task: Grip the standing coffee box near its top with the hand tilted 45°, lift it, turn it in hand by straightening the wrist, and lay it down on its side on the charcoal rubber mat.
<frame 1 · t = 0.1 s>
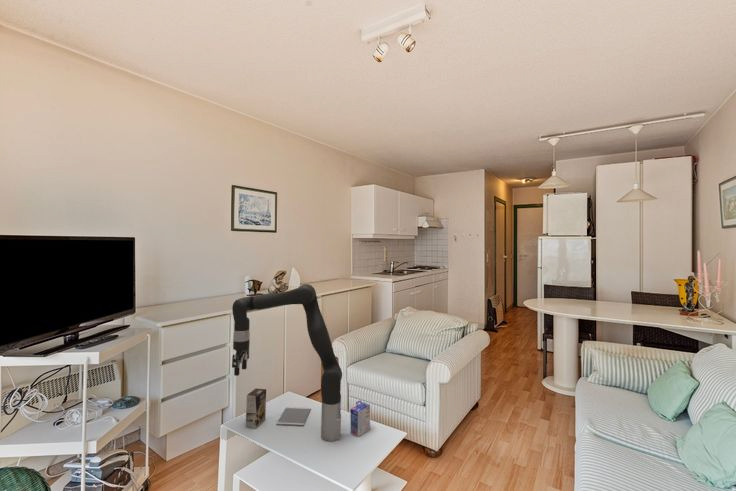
hand: (240, 372, 164), 29 cm above the table, tool pointing down, fingers open, 8 cm apart
coffee box: (255, 423, 172), on the table
ink cartridge box: (360, 431, 167), on the table
mat: (294, 417, 180), on the table
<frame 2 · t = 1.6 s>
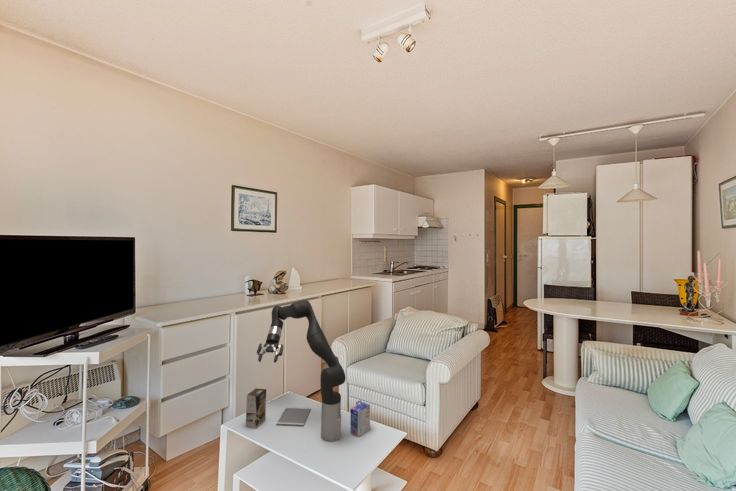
hand: (267, 361, 188), 27 cm above the table, tool tilted 45°, fingers open, 8 cm apart
nothing on the table moved.
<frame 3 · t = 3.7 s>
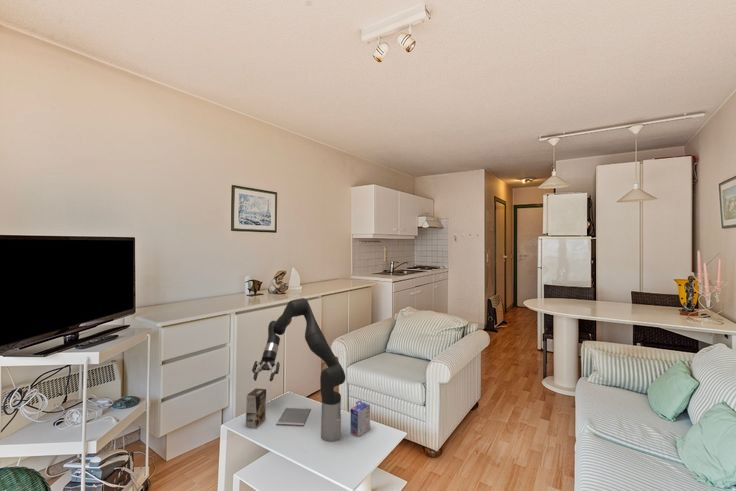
hand: (262, 380, 181), 19 cm above the table, tool tilted 45°, fingers open, 8 cm apart
nothing on the table moved.
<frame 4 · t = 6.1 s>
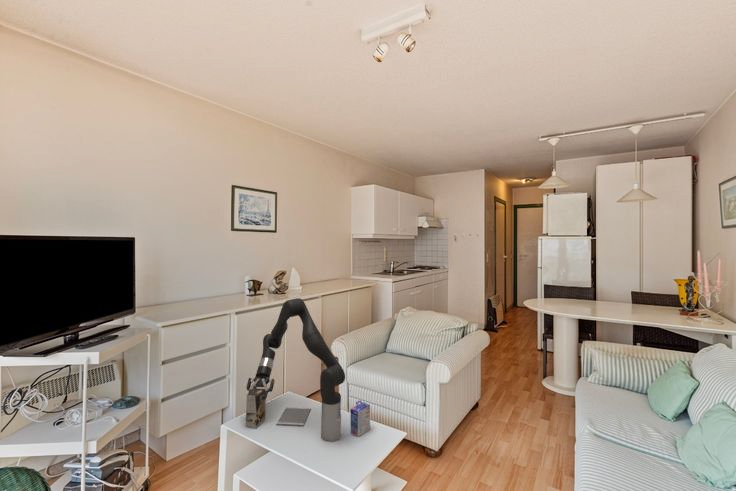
hand: (256, 398, 173), 12 cm above the table, tool tilted 45°, fingers closed on coffee box, 7 cm apart
coffee box: (255, 423, 172), on the table, touching gripper
everything else where it was.
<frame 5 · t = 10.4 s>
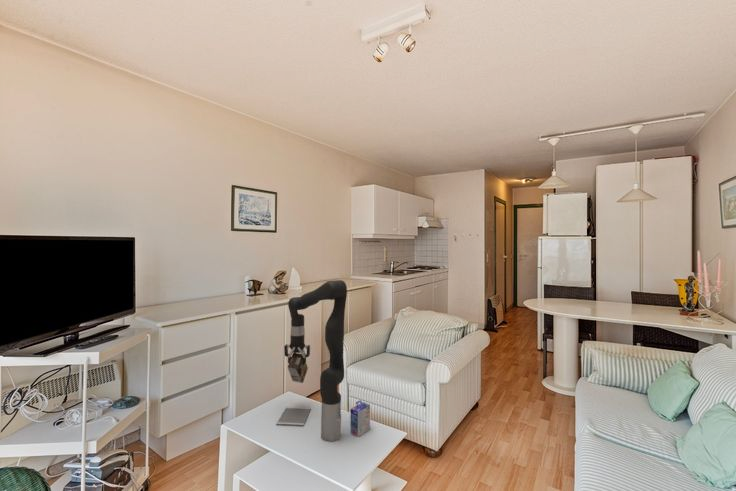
hand: (297, 364, 183), 27 cm above the table, tool pointing down, fingers closed on coffee box, 7 cm apart
coffee box: (300, 374, 191), point 18 cm above the table, touching gripper
everything else where it was.
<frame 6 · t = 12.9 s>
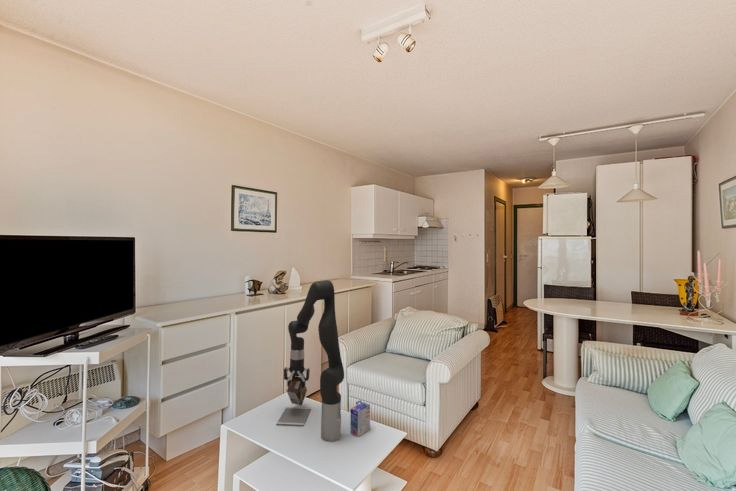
hand: (296, 387, 182), 15 cm above the table, tool pointing down, fingers closed on coffee box, 7 cm apart
coffee box: (299, 396, 191), point 6 cm above the table, touching gripper
everything else where it was.
when the fingers open (14 cm above the table, at t = 14.1 s): coffee box moves 3 cm, resting on mat.
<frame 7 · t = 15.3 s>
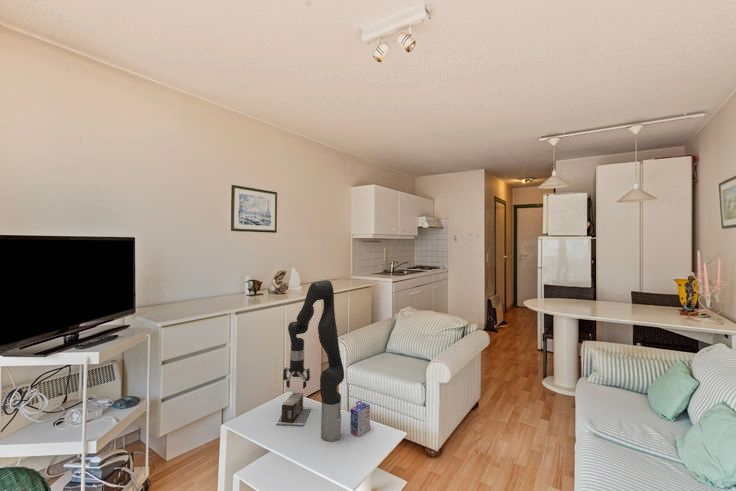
hand: (296, 387, 183), 15 cm above the table, tool pointing down, fingers open, 8 cm apart
coffee box: (298, 400, 188), point 5 cm above the table, touching mat
everything else where it was.
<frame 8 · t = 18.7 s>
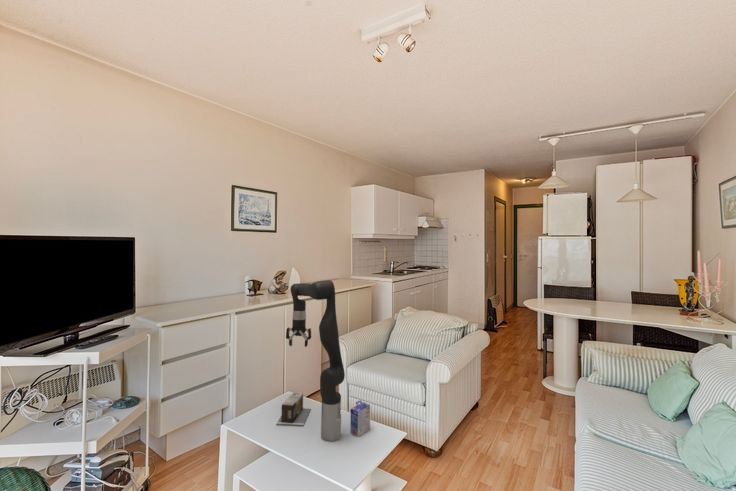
hand: (298, 346, 193), 34 cm above the table, tool pointing down, fingers open, 8 cm apart
nothing on the table moved.
at the end: coffee box tilted 91°; coffee box touching mat; coffee box 8.1 cm from the mat (horizontally) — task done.
